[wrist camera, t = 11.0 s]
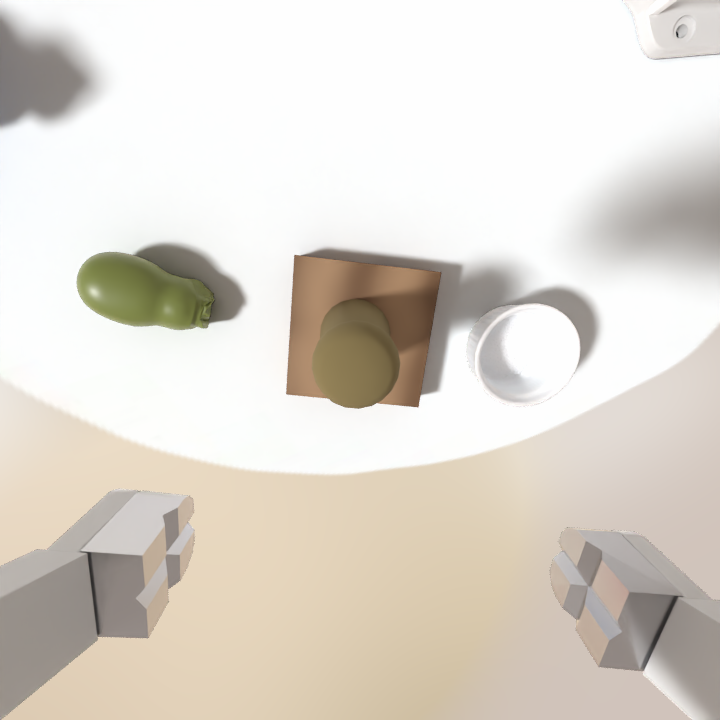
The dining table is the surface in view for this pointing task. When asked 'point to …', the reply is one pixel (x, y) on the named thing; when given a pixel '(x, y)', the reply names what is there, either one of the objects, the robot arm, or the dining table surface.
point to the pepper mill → (355, 355)
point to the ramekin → (523, 353)
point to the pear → (142, 293)
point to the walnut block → (378, 286)
